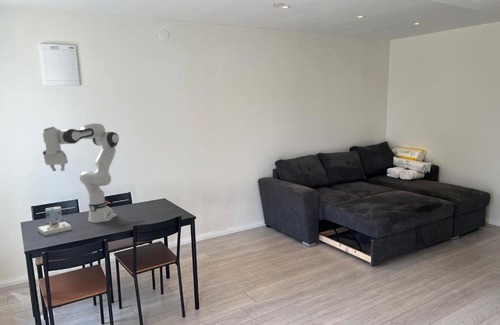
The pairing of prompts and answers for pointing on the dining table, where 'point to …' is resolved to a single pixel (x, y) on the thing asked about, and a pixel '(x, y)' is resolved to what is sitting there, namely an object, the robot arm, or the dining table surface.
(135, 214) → the dining table surface
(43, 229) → the switch panel
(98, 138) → the robot arm
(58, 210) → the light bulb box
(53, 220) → the breaker lever
